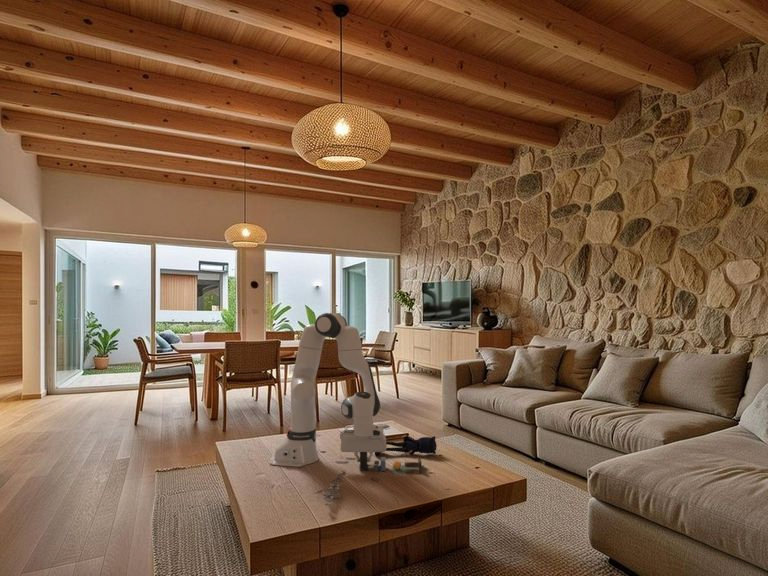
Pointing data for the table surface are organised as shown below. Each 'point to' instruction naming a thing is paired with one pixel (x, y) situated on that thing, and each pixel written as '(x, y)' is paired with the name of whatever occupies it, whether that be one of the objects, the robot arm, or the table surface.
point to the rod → (364, 465)
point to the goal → (412, 464)
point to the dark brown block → (376, 466)
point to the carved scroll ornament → (334, 488)
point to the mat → (402, 469)
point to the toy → (413, 445)
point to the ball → (397, 465)
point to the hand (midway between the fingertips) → (363, 461)
